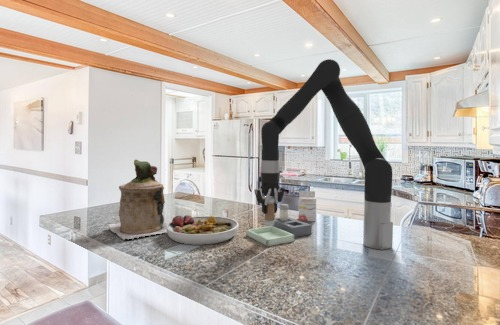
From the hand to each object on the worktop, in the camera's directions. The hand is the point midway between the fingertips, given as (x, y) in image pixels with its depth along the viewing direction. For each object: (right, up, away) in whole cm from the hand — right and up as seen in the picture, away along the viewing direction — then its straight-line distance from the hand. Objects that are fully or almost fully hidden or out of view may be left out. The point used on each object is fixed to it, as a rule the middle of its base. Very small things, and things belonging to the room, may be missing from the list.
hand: (269, 212), depth 122 cm
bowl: (-28, -11, +5) cm, 30 cm away
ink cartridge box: (+21, -9, +31) cm, 39 cm away
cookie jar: (-56, -10, +13) cm, 59 cm away
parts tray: (0, -10, 0) cm, 10 cm away
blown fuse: (0, -5, 0) cm, 5 cm away
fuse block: (+10, -10, +12) cm, 18 cm away
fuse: (+8, -10, +15) cm, 20 cm away
